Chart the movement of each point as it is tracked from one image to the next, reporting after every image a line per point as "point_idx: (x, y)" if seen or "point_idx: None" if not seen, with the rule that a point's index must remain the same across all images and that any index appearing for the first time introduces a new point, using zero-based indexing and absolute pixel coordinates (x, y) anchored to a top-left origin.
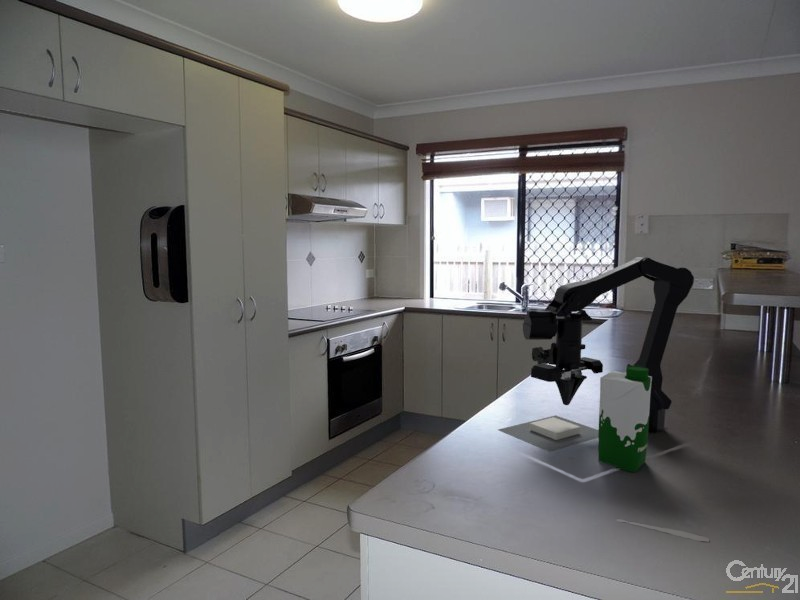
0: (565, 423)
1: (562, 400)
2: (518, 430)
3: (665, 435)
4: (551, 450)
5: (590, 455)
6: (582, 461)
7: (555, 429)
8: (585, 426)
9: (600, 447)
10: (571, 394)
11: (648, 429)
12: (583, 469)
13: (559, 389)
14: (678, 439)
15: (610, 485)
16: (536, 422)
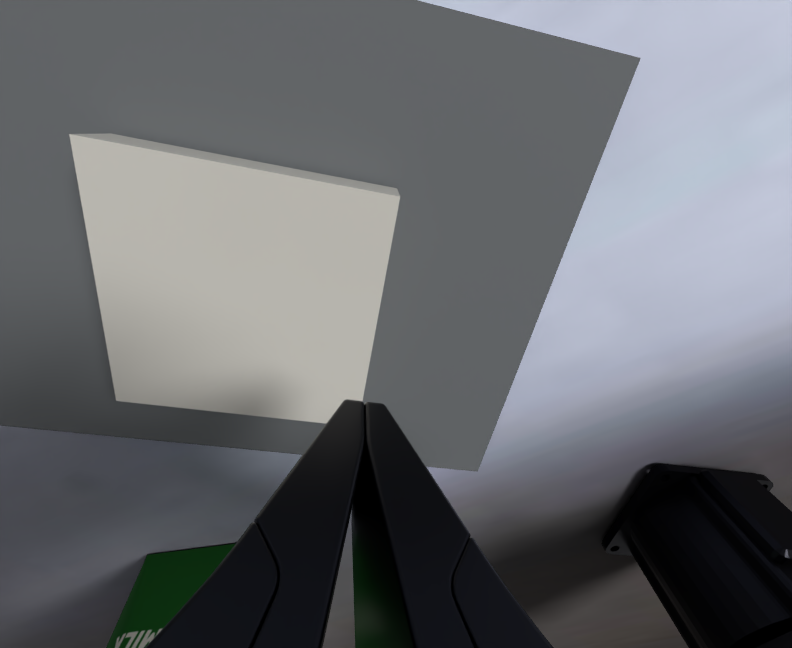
0: (336, 341)
1: (324, 429)
2: (11, 55)
3: (633, 559)
4: (12, 422)
5: (189, 509)
6: (104, 518)
7: (163, 363)
8: (510, 353)
9: (115, 629)
10: (356, 596)
11: (634, 540)
12: (46, 549)
13: (227, 570)
14: (612, 589)
15: (43, 625)
16: (143, 170)
